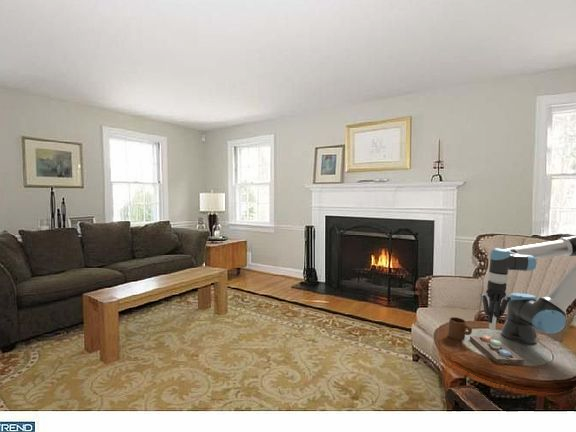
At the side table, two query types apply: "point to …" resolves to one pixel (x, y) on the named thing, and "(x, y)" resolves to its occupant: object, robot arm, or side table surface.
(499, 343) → the sage button
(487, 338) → the terracotta button
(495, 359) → the button panel
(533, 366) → the side table surface
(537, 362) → the side table surface
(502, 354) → the blue button
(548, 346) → the side table surface
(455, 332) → the mug
